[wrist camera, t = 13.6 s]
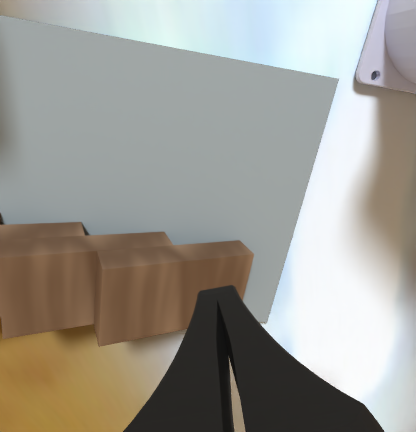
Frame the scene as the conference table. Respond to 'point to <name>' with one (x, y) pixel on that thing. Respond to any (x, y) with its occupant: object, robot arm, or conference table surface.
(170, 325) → the domino
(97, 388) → the conference table surface
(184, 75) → the slate mat
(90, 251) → the domino
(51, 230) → the domino
